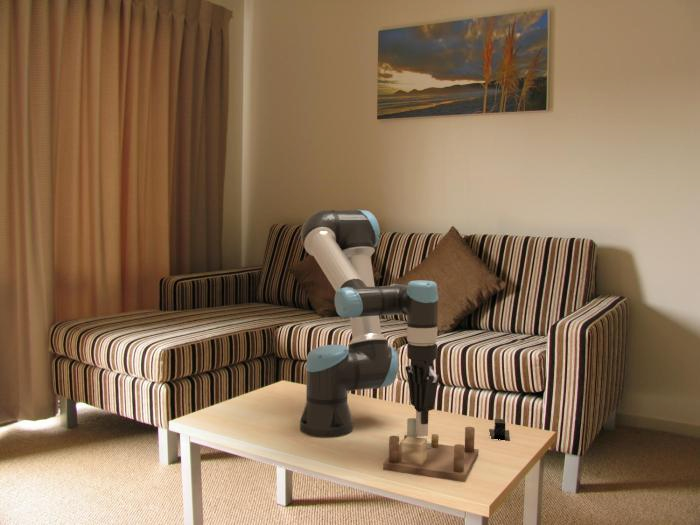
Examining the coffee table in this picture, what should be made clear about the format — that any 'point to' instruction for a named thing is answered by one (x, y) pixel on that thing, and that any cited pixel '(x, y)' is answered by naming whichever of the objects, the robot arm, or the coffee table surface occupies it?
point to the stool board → (437, 458)
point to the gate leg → (413, 429)
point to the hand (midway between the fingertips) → (422, 435)
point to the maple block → (414, 450)
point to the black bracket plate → (499, 430)
